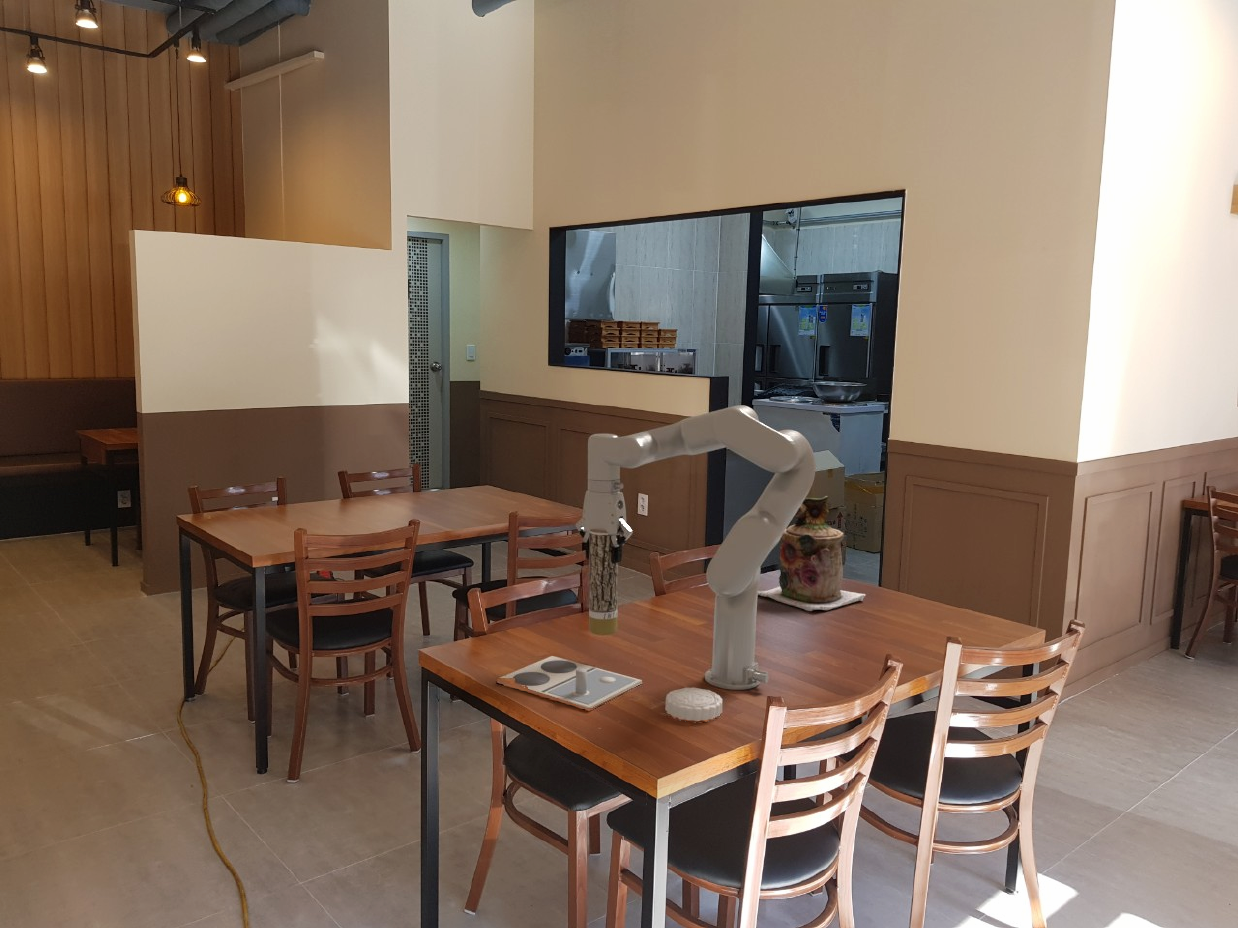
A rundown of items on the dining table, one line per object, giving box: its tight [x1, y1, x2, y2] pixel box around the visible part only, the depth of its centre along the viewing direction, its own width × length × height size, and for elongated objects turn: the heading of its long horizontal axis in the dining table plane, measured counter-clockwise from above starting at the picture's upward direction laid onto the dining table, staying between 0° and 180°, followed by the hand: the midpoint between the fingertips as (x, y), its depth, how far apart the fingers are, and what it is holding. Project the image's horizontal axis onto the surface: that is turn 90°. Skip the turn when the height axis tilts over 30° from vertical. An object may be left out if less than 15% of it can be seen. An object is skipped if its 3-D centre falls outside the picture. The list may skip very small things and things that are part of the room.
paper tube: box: [588, 530, 619, 636], centre depth 229 cm, size 7×7×25 cm
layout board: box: [499, 655, 643, 708], centre depth 216 cm, size 26×20×6 cm
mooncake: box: [664, 686, 723, 721], centre depth 202 cm, size 12×12×4 cm
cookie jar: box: [758, 495, 866, 612], centre depth 289 cm, size 25×25×32 cm
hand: (603, 559), depth 229 cm, fingers closed on paper tube, 6 cm apart
